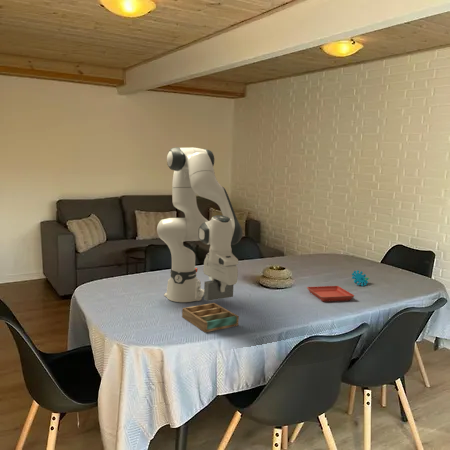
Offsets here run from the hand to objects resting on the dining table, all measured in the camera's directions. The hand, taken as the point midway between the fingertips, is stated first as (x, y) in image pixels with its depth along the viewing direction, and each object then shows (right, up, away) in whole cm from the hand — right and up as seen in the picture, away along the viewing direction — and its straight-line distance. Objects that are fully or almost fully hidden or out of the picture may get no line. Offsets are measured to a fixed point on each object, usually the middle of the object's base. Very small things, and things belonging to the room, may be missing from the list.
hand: (218, 290), depth 187 cm
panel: (0, -3, 0) cm, 3 cm away
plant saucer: (+56, -11, +49) cm, 75 cm away
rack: (-4, -14, +7) cm, 16 cm away
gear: (+78, -7, +73) cm, 107 cm away
